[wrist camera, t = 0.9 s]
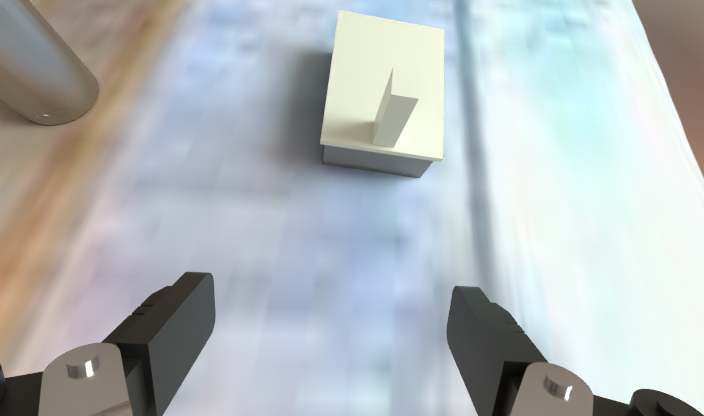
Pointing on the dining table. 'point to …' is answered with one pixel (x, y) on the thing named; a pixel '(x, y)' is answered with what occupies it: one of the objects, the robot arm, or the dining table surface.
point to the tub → (374, 161)
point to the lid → (386, 88)
